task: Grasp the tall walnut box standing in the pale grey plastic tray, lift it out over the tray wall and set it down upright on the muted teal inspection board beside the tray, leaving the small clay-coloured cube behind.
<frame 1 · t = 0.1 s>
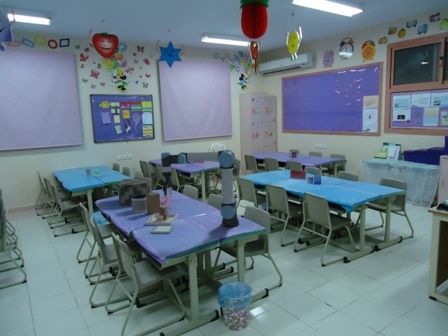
hand: (168, 196, 267), 28 cm above the table, fingers open, 13 cm apart
clay cube: (160, 223, 286), point 1 cm above the table, touching tray
walnut box: (163, 219, 297), point 1 cm above the table, touching tray
tray: (162, 221, 293), on the table
storage box: (136, 201, 367), on the table
inspection board: (163, 230, 271), on the table
wooden block: (154, 213, 319), on the table
planter: (140, 210, 330), on the table
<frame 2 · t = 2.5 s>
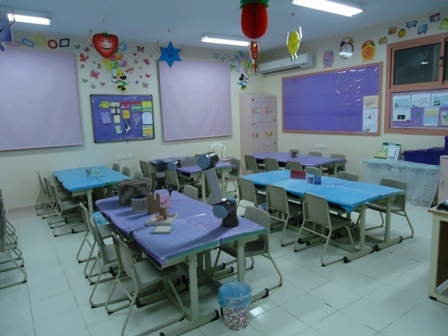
hand: (162, 199, 294), 19 cm above the table, fingers open, 13 cm apart
nothing on the table moved.
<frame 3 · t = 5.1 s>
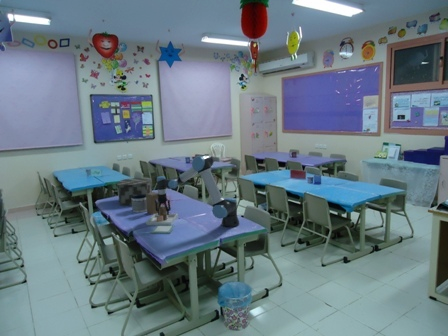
hand: (163, 218, 297), 2 cm above the table, fingers closed on walnut box, 6 cm apart
walnut box: (163, 219, 297), point 1 cm above the table, touching gripper, tray
everything else where it was.
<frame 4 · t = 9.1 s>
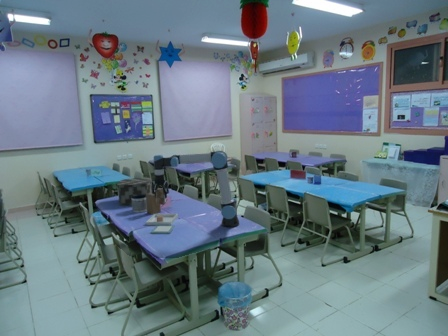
hand: (161, 201, 267), 24 cm above the table, fingers closed on walnut box, 6 cm apart
walnut box: (161, 203, 267), point 23 cm above the table, touching gripper
everything else where it was.
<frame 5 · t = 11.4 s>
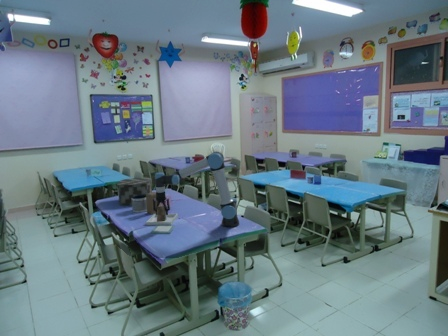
hand: (162, 218, 269), 10 cm above the table, fingers closed on walnut box, 6 cm apart
walnut box: (162, 219, 269), point 9 cm above the table, touching gripper
everything else where it was.
when the fingers open (4 cm above the table, at t = 13.4 s): walnut box drops 2 cm, resting on inspection board.
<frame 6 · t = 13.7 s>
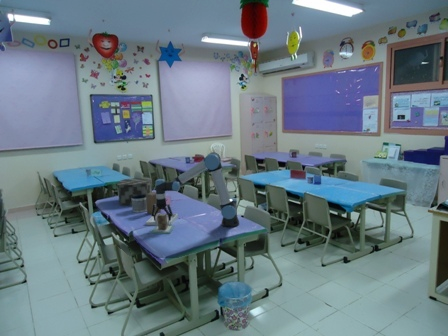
hand: (162, 224, 270), 5 cm above the table, fingers open, 10 cm apart
walnut box: (163, 228, 270), point 1 cm above the table, touching inspection board
everything else where it was.
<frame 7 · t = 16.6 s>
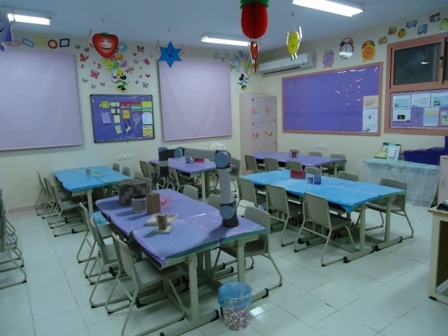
hand: (165, 191, 269), 32 cm above the table, fingers open, 13 cm apart
nothing on the table moved.
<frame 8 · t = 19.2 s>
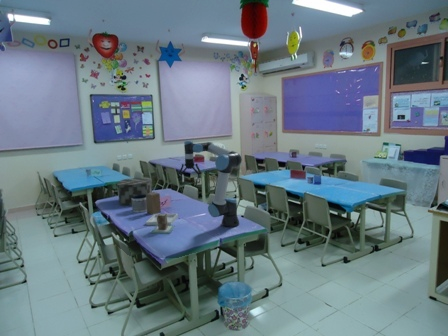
hand: (190, 181, 291), 35 cm above the table, fingers open, 13 cm apart
nothing on the table moved.
at the end: walnut box inside the target area on the inspection board (0.1 cm from its centre), point 1.3 cm above the inspection board's base; walnut box tilted 0°; the gripper is holding nothing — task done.
